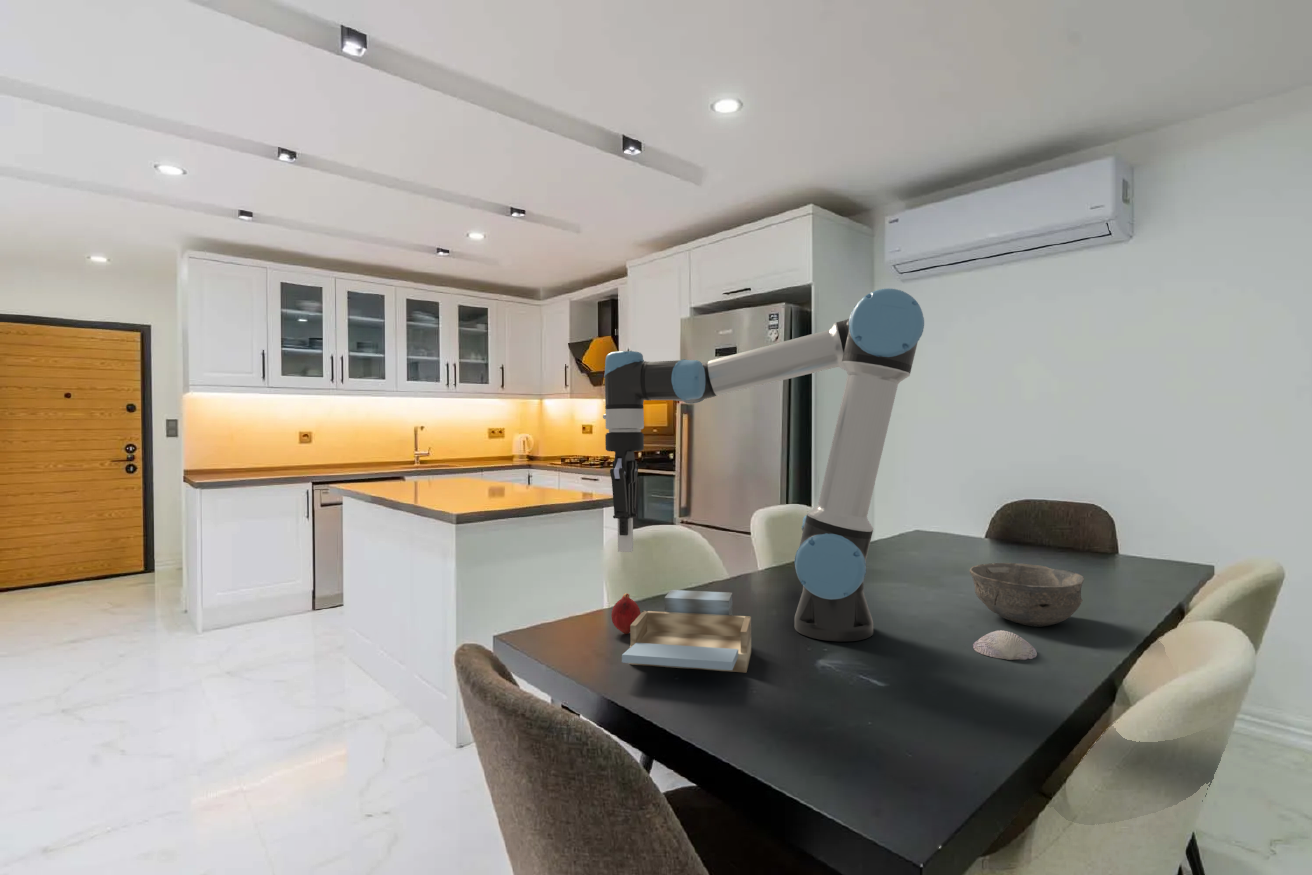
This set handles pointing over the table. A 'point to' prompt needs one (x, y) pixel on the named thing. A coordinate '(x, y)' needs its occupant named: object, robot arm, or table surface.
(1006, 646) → the seashell
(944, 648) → the table surface
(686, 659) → the panel
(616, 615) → the onion
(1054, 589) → the bowl
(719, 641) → the open wooden box
